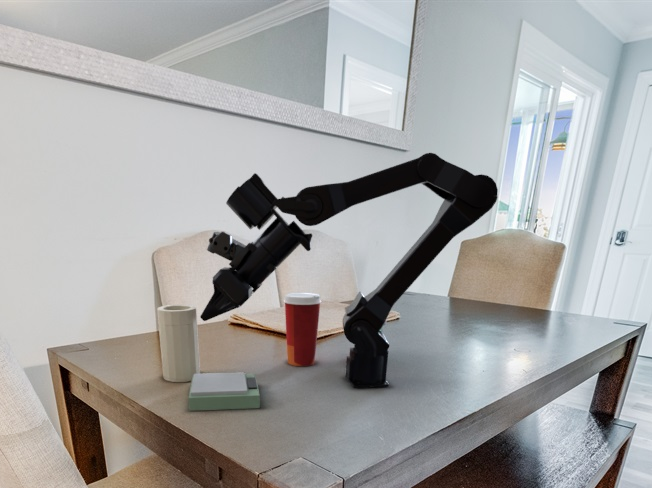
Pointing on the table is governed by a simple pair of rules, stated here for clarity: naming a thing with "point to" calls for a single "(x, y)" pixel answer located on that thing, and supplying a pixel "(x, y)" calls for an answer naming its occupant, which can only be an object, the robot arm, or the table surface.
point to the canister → (178, 342)
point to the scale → (223, 391)
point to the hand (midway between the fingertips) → (208, 314)
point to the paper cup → (301, 327)
